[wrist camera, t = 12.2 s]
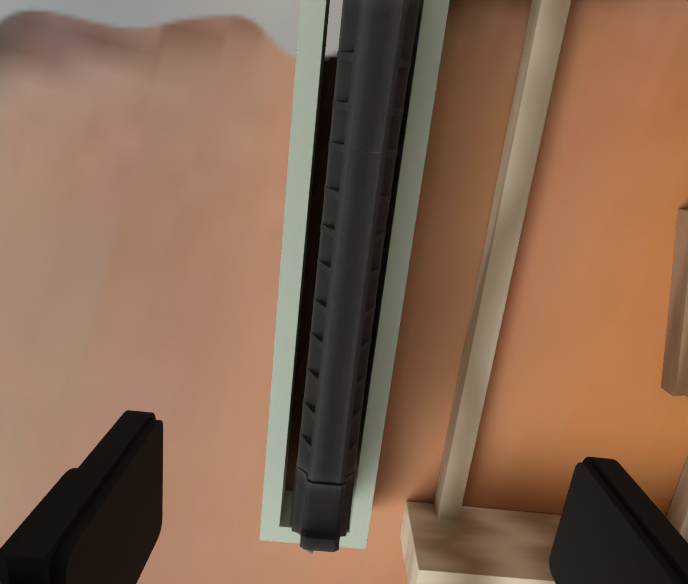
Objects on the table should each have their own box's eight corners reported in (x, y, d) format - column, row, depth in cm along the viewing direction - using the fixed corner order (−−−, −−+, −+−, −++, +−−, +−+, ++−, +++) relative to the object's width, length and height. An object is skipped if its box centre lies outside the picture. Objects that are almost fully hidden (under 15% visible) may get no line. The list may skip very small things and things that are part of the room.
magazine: (357, -186, 17) (263, 692, 17) (451, -173, 17) (359, 699, 17) (341, 56, 34) (295, 488, 34) (388, 62, 34) (342, 493, 34)
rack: (900, -49, 26) (1061, -105, 20) (670, 558, 37) (731, 633, 31) (512, -102, 25) (564, -176, 19) (400, 534, 36) (411, 607, 31)
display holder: (448, -69, 25) (465, -101, 22) (363, 511, 36) (365, 549, 32) (314, -87, 25) (309, -123, 22) (267, 502, 35) (259, 539, 32)
